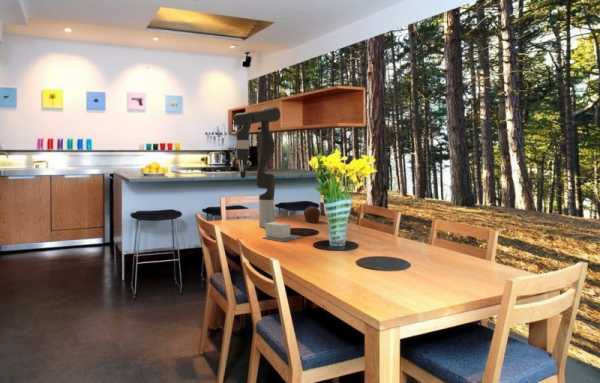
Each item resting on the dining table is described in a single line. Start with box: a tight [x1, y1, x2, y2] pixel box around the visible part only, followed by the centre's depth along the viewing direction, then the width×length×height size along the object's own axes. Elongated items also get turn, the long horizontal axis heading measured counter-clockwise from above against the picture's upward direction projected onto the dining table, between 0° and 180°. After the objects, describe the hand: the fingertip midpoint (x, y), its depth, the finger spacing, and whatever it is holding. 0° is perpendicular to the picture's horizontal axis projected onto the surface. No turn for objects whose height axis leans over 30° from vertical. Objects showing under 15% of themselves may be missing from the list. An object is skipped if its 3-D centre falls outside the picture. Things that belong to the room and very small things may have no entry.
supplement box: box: [264, 221, 291, 239], centre depth 269 cm, size 7×7×13 cm
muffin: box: [303, 206, 321, 224], centre depth 326 cm, size 12×11×10 cm
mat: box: [262, 233, 304, 243], centre depth 269 cm, size 17×15×1 cm
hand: (242, 178), depth 281 cm, fingers closed
